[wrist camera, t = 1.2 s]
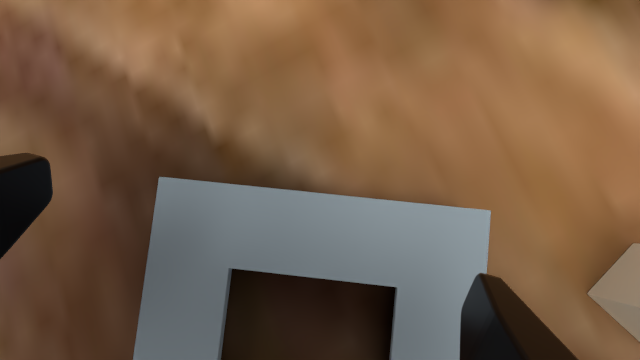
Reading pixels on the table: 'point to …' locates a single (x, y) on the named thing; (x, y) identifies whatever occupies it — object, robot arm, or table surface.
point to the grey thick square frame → (304, 261)
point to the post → (622, 290)
